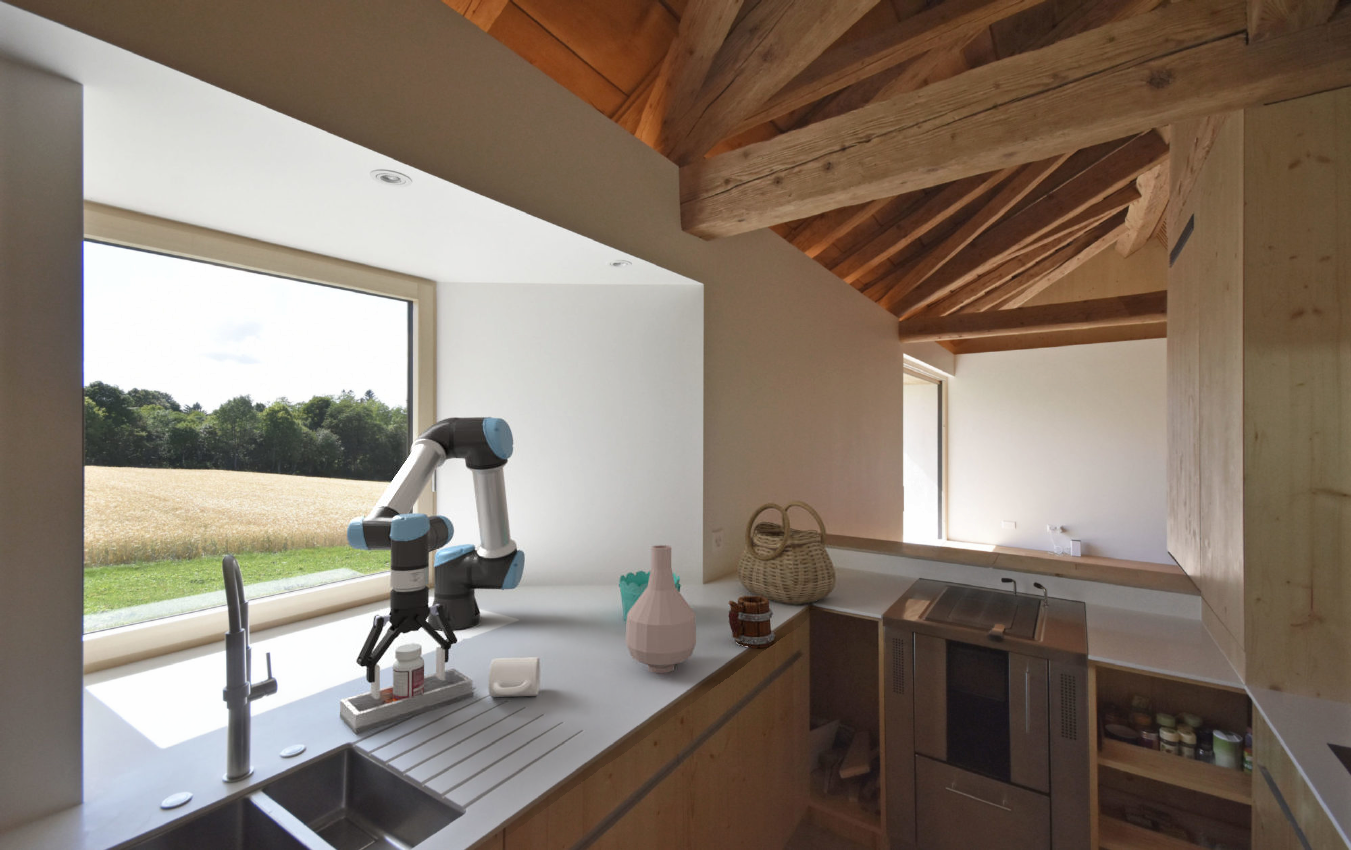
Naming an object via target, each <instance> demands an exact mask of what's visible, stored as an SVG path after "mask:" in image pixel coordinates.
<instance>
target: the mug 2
mask: <svg viewBox="0 0 1351 850" xmlns="http://www.w3.org/2000/svg"><path fill="white" fill-rule="evenodd" d="M728 604H729V606H730V610H729V611H728V623H729V626H730V630H731V632H732V633H731V635H732V636H731V637H732V638H733V639H734V640H735V641H736V642H737V643H738V644H741V645H743V646H748V647H749V648H748V649H758V648H759V649H763V648H767V647H770V646H771V645H772V644H773V641H774V640H775V637H776V635H775V632H774V631H773V630H772V626H771V619H772V618H773V615H774V612H773V611H772V609H771V608H770V600H769V599H767V598H765V597H761V596H758V595H743V596H740V597H738V599H737V602H736V601H734V600H729V601H728ZM735 641H734V642H735ZM736 642H735V643H736ZM738 644H737V645H738ZM741 645H740V646H741ZM743 646H742V647H743Z"/></svg>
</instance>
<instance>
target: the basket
mask: <svg viewBox="0 0 1351 850" xmlns="http://www.w3.org/2000/svg"><path fill="white" fill-rule="evenodd" d="M791 507H800V508H801V509H804V510H805V511H807V512H808V513H809V514H810V515H811V516H812V517H813V519H815V521H816V522H817V525H818V527H819V531H820V534H819V531H818V530H815V529H808V530H803V531H802V530H800V529H799V530H798V529H794V528H792V527H791V523H790V517H789V515H788V513H787V512H788V510H789V509H790V508H791ZM768 509H775V510H777V511H779V513H781V524H777V523H774V522H767V521H762V522H758V523H757V524H756V525H755V526H754V528H753V525H754V523H755V520H756V519H757V518H758V516H759V515H760V514H762V512H764V511H765V510H768ZM752 528H753V530H752ZM744 533H745V537H744V538H745V547H744V550H743V551H742V554H741V556H740V558H739V560H738V564H737V576H738V580H739V581H740V583H741V585H742V586H743V587H744V588H745V589H746V590H747V591H749V592H750V593H752V594H753V595H754V596H761V597H765V598H767V599H768V600H769V601H772V600H773V601H772V602H776V601H777V602H776V603H780V602H781V604H784V603H786V605H791V604H796V605H804V604H803V603H805V604H808V602H810V603H813V601H814V602H817V601H819V600H821V599H824V598H825V597H827V596H829V595H830V594H831V593H832V591H833V590H834V588H835V586H836V581H837V580H836V579H837V578H836V577H837V576H836V570H835V567H834V563H833V561H832V559H831V557H830V555H829V553H828V550H827V549H826V547H825V545H826V541H827V531H826V527H825V524H824V522H823V519H822V518H821V516H820V514H819V513H818V512H817V511H816V510H815V509H814V508H813V507H812V506H811V505H809V504H807V503H805V502H804V501H801V500H792V501H789V502H788V503H786V504H785V505H784V507H783V506H781V505H779V504H776V503H772V502H771V503H770V502H769V503H768V502H767V503H764V504H762V505H760V506H759V507H757V508H756V509H755V510H754V512H753V513H752V514H751V516H750V517H749V519H748V521H747V524H746V528H745V532H744ZM816 600H817V601H816Z"/></svg>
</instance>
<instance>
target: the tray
mask: <svg viewBox="0 0 1351 850" xmlns="http://www.w3.org/2000/svg"><path fill="white" fill-rule="evenodd" d="M473 683H474V682H473V679H472V678H470V677H468V676H466V675H465V674H463V673H462V672H460V671H459V670H457V669H456V668H454V667H453V668H450V669H445V680H440V679H438V678H437V677H436V672H435V673H432V674H428V675H426V676H425V675H424V693H422V694H418V695H415V696H412V697H408V698H405V699H402V700H398V701H395V702H393V684H392V685H389V686H386V687H382V688H380V698H379V699H375V698H374V697H372V696H371V691H368V692H364V693H361V694H357V695H354V696H353V695H352V696H350V697H345V698H342V699H340V703H339V704H340V708H339V718H340V719H342V721H343V722H344V723H345V724H346V725H347V726H348V727H349V728H350V729H351V730H352V732H353V733H354V734H355V735H358V734H360V733H364V732H366V731H369V730H373V729H375V728H379V727H382V726H385V725H388V724H391V723H395V722H397V721H400V720H401V721H402V720H403V719H407V718H410V717H414V716H417V715H420V714H423V713H425V712H429V711H432V710H435V709H438V708H442V707H444V706H448V705H451V704H455V703H457V702H458V703H459V702H460V701H464V700H467V699H470V698H473V697H474V692H473V688H474V687H473Z"/></svg>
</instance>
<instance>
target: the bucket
mask: <svg viewBox="0 0 1351 850" xmlns="http://www.w3.org/2000/svg"><path fill="white" fill-rule="evenodd" d="M650 572H651V570H649V571H648V572H646V571H644V570H639V571H635V573H633V572H628V573H627V574H626V575H624V574H622V575H620V577H619V578H618V580H619V583H618V587H619V589H620V596H621V605H622V606H621V607H622V614H623V616H622V617H623V620H624V621H625V622H627V614H628V612H629V611H630V609H631V608H632V607H633V605H634V604H635V603H636V601H637V600H638V599H639V597H640V596H641V595H642V593H643V592H644V591H645V589H646V588H647V587H648V582H649V577H650ZM672 573H673V578H674V583H675V587H676V589H677V590H678V591H679V593H681V592H680V591H681V586H682V585H681V583H680V580H681V576H680V575H677V574H676V573H674V572H672Z"/></svg>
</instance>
